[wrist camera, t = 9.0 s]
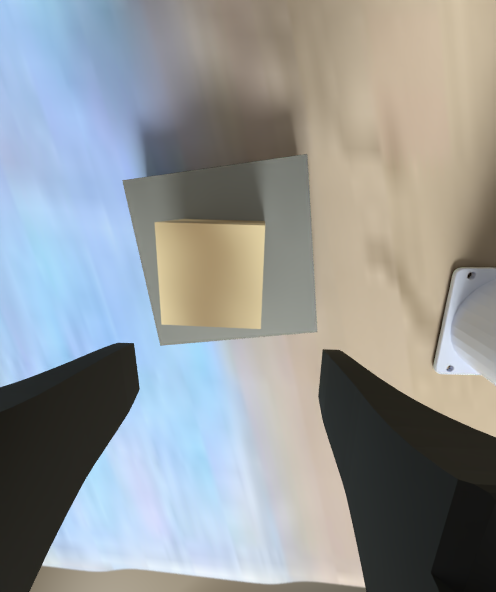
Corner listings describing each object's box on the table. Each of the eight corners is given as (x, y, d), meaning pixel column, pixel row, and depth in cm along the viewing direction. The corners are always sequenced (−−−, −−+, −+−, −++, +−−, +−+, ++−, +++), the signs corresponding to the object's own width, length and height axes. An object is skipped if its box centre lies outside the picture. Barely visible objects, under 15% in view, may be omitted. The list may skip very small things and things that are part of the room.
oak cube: (264, 221, 16) (265, 225, 11) (261, 298, 17) (260, 328, 13) (184, 218, 16) (154, 222, 12) (187, 295, 17) (161, 324, 13)
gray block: (298, 165, 18) (307, 154, 15) (307, 310, 21) (317, 331, 17) (150, 186, 19) (122, 180, 15) (178, 322, 22) (160, 345, 18)
